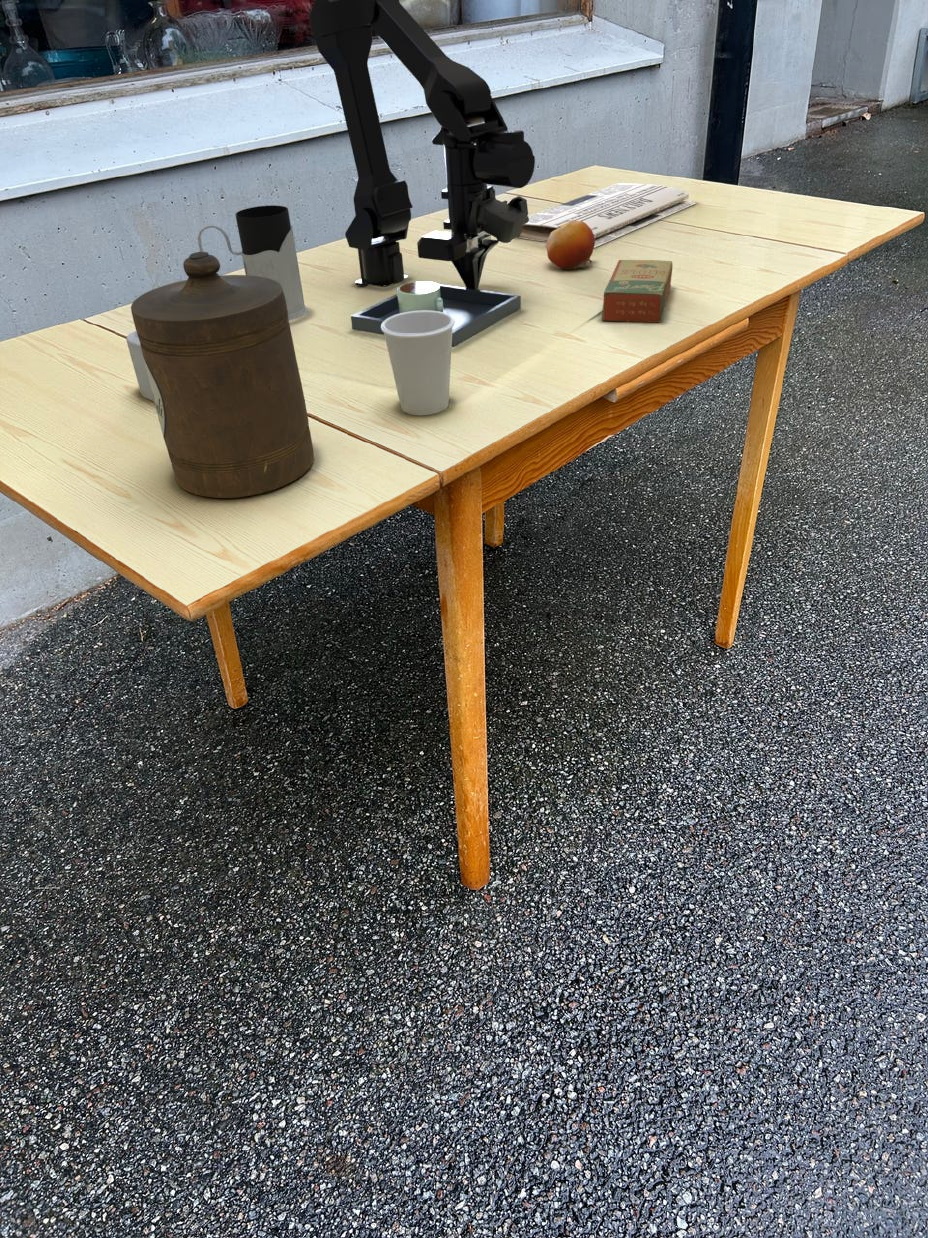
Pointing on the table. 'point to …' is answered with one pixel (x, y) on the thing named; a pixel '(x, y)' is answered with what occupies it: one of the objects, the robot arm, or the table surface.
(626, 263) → the carton
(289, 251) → the glass holder
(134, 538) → the table surface
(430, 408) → the dixie cup
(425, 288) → the teacup
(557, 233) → the fruit
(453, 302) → the tray
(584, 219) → the newspaper
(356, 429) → the table surface
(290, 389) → the wooden container
